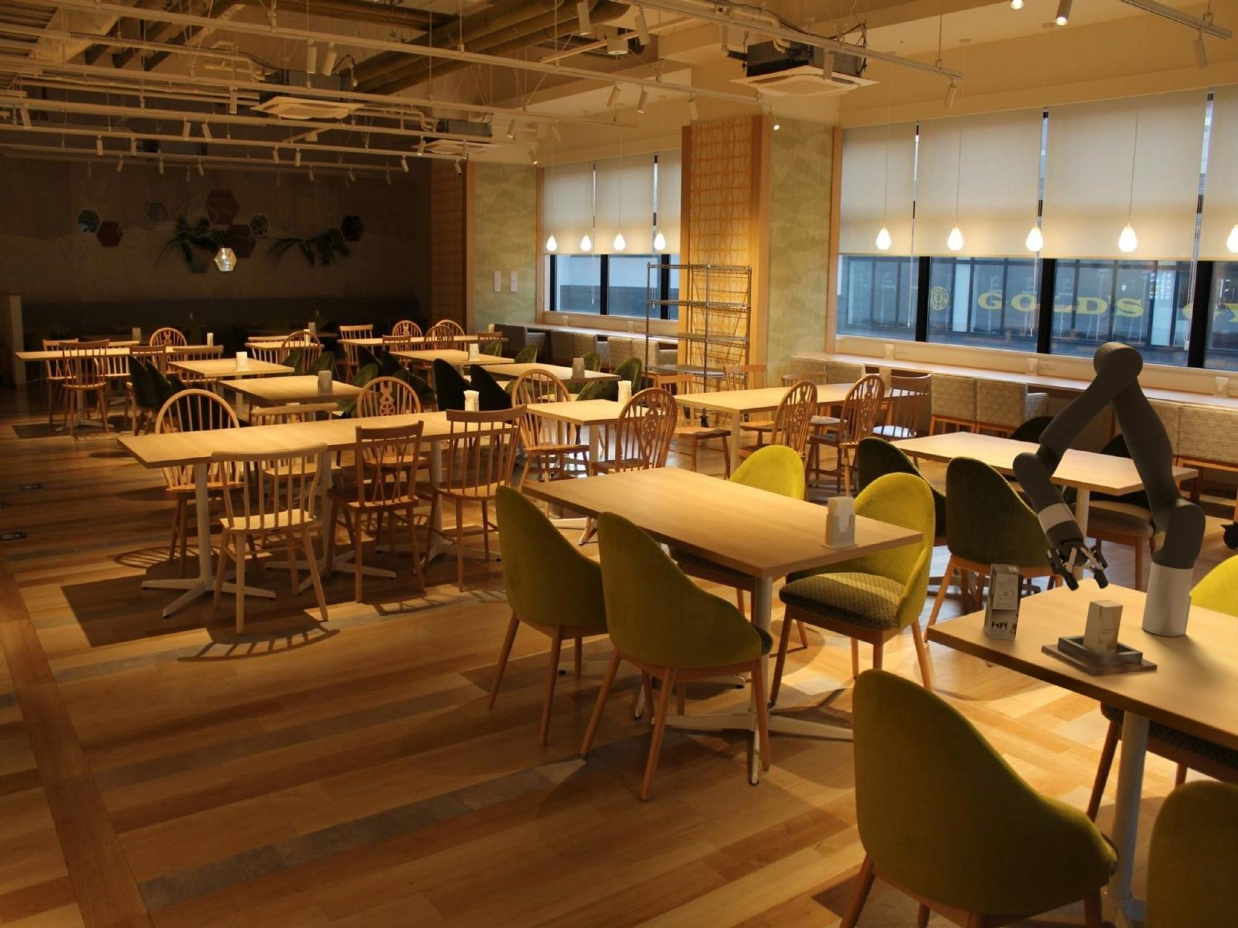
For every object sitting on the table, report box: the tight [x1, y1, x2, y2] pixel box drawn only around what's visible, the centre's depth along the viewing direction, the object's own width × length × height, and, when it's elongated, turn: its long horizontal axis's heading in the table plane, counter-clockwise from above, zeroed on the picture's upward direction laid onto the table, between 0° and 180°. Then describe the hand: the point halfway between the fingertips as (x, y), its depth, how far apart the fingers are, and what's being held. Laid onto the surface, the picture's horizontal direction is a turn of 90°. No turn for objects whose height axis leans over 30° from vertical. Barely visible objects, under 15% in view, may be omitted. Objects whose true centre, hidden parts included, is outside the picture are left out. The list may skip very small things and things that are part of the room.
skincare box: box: [1083, 599, 1124, 654], centre depth 242 cm, size 6×4×12 cm
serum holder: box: [1041, 634, 1159, 678], centre depth 243 cm, size 18×16×4 cm
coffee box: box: [983, 563, 1025, 642], centre depth 256 cm, size 9×6×16 cm
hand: (1090, 588), depth 245 cm, fingers open, 8 cm apart
